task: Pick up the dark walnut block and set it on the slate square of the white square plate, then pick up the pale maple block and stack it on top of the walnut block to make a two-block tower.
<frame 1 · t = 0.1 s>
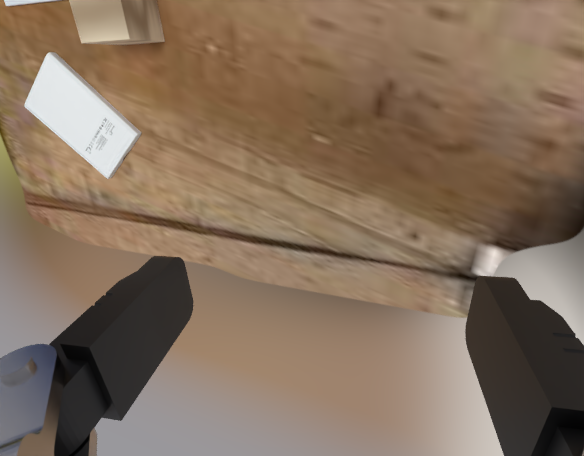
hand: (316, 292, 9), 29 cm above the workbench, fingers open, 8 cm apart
external hard drive: (89, 118, 42), on the workbench
maple block: (137, 15, 35), on the workbench
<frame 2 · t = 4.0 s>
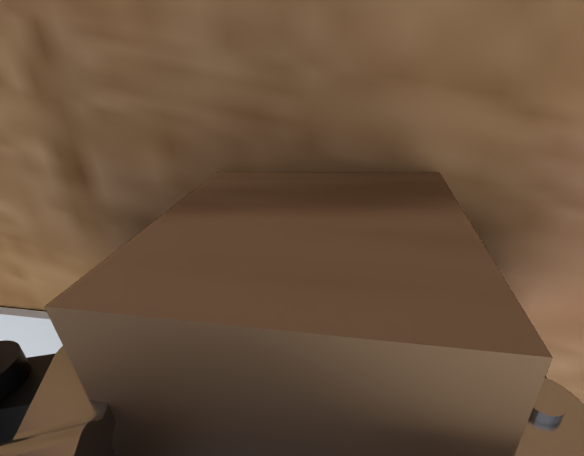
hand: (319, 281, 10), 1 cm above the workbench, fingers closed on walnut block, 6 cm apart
white square plate: (121, 411, 16), on the workbench
walnut block: (323, 265, 10), on the workbench, touching gripper
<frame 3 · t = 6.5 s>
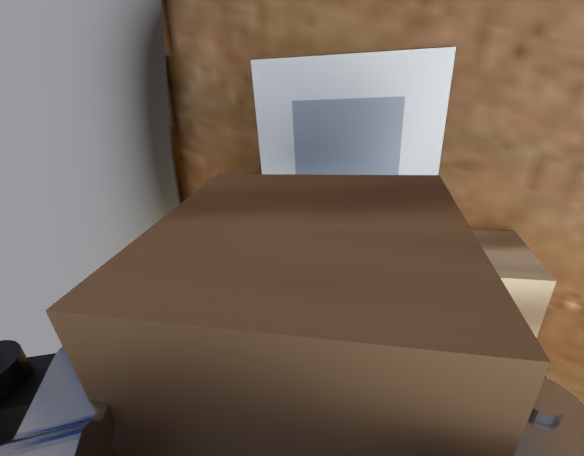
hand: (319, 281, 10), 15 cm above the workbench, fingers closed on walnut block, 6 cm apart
white square plate: (346, 152, 23), on the workbench
walnut block: (323, 267, 11), point 14 cm above the workbench, touching gripper
maple block: (468, 259, 25), on the workbench
when the fingers open (3 cm above the workbench, at t = 9.2 s): walnut block drops 1 cm, resting on white square plate.
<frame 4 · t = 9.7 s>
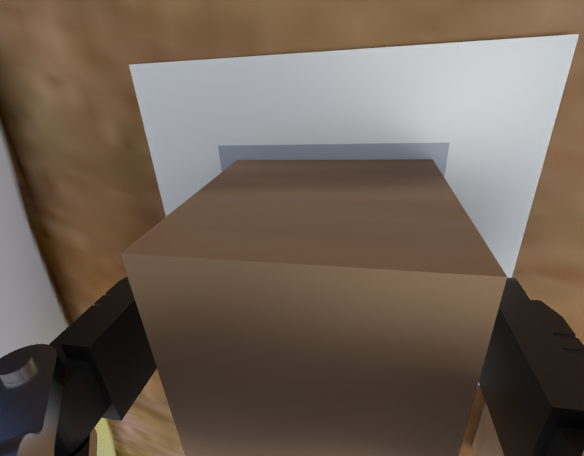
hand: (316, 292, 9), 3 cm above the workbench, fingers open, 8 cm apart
white square plate: (328, 239, 12), on the workbench
walnut block: (330, 244, 12), resting on white square plate
maple block: (548, 418, 14), on the workbench
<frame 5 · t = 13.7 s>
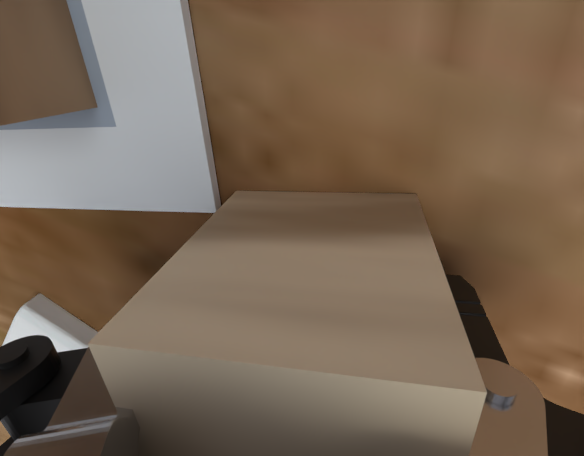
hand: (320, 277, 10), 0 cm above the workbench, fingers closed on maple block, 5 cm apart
external hard drive: (139, 401, 17), on the workbench
maple block: (322, 268, 10), on the workbench, touching gripper
when the fingers open (8 cm above the workbench, at t = 18.6 s): maple block drops 1 cm, resting on walnut block.
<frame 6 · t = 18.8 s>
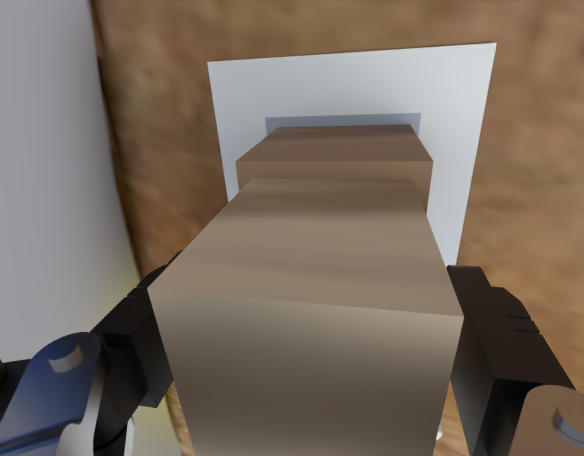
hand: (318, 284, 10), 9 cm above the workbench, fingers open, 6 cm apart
white square plate: (339, 185, 17), on the workbench
walnut block: (341, 187, 17), resting on white square plate, touching maple block
maple block: (329, 248, 12), point 6 cm above the workbench, touching walnut block
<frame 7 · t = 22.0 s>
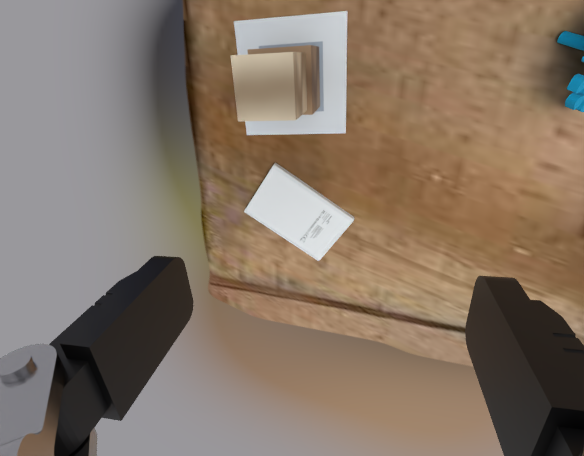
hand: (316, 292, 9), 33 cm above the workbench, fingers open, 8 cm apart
external hard drive: (299, 210, 46), on the workbench
white square plate: (292, 79, 38), on the workbench
walnut block: (292, 79, 38), resting on white square plate, touching maple block
maple block: (280, 83, 32), point 6 cm above the workbench, touching walnut block
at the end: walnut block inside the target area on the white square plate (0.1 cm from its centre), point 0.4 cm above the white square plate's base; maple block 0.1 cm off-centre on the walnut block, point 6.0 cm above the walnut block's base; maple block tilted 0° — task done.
